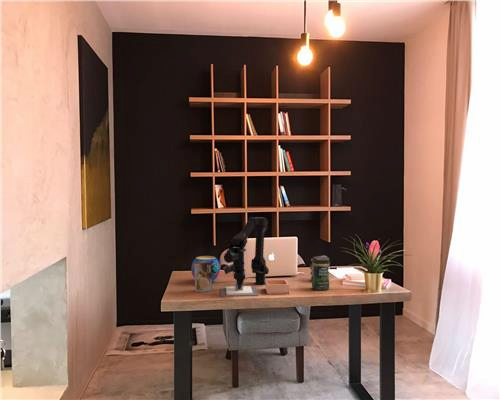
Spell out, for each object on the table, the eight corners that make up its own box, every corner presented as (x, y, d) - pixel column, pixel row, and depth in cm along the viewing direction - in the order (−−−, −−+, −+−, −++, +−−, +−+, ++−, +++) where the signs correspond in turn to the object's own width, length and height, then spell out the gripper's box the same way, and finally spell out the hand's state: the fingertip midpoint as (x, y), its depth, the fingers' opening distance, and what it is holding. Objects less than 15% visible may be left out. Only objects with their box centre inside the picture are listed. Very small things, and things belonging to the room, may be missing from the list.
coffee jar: (314, 291, 235) (314, 257, 234) (310, 287, 242) (310, 255, 242) (331, 290, 236) (331, 257, 235) (326, 286, 244) (326, 255, 243)
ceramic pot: (192, 286, 247) (192, 260, 246) (190, 279, 264) (190, 255, 264) (221, 284, 250) (221, 259, 250) (218, 277, 268) (218, 254, 267)
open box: (264, 288, 240) (264, 279, 240) (285, 288, 241) (285, 279, 241) (267, 294, 228) (267, 285, 228) (289, 293, 229) (289, 284, 229)
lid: (226, 288, 240) (226, 278, 239) (250, 287, 241) (250, 278, 240) (226, 294, 226) (226, 284, 225) (252, 294, 227) (252, 284, 226)
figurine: (331, 281, 256) (331, 257, 256) (313, 282, 254) (313, 258, 253) (325, 278, 265) (326, 254, 265) (308, 279, 263) (308, 255, 262)
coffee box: (210, 288, 241) (210, 260, 241) (212, 291, 235) (212, 262, 235) (194, 289, 239) (194, 261, 238) (196, 292, 233) (196, 263, 232)
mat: (220, 288, 241) (220, 287, 241) (255, 287, 242) (255, 287, 242) (220, 296, 224) (220, 295, 224) (258, 295, 225) (258, 294, 225)
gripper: (224, 257, 241) (224, 284, 242) (224, 263, 222) (224, 292, 223) (243, 256, 242) (243, 283, 243) (245, 263, 223) (245, 292, 224)
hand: (239, 288), depth 233 cm, fingers closed on lid, 4 cm apart
